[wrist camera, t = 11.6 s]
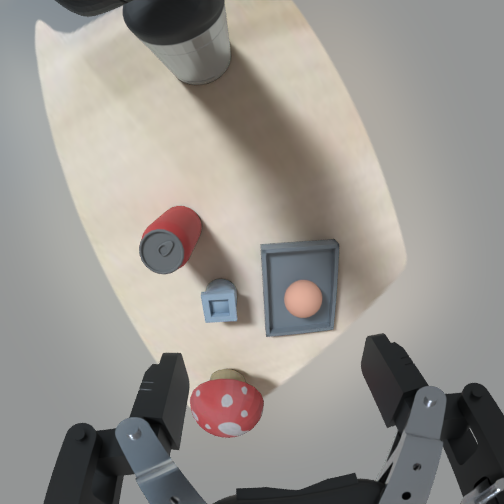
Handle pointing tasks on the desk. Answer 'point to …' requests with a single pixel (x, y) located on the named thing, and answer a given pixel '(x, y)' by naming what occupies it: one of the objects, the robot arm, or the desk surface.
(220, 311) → the square to round adapter
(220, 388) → the decorative mushroom
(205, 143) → the desk surface
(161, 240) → the beer can
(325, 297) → the tray
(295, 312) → the ball
